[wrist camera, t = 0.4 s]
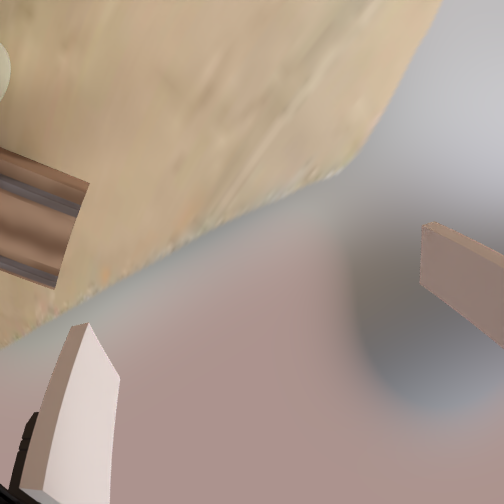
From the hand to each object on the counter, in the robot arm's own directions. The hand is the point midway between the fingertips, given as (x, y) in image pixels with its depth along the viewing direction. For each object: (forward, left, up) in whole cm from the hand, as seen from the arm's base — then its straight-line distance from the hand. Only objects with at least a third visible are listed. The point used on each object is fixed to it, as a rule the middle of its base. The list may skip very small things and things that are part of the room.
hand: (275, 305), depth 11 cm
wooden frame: (+20, -18, -27) cm, 39 cm away
